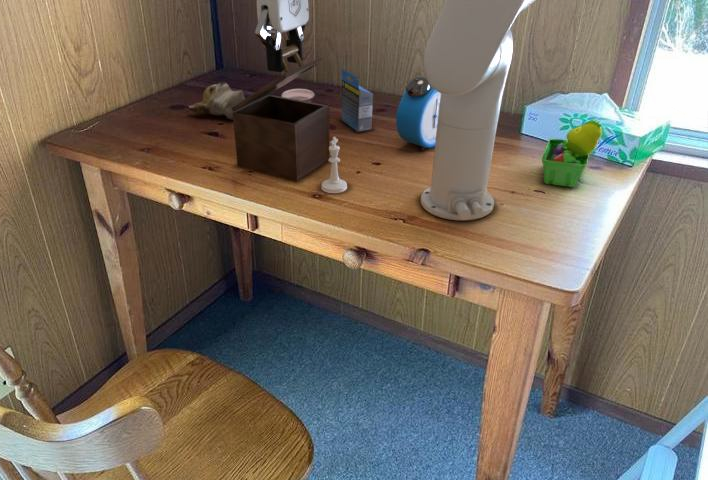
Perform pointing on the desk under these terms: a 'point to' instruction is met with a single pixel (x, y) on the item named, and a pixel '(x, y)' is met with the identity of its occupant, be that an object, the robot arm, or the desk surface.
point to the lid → (283, 79)
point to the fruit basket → (570, 154)
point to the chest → (282, 136)
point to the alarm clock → (419, 113)
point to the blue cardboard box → (356, 103)
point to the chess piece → (334, 172)
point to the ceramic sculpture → (218, 100)
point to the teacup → (299, 94)
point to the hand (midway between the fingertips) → (285, 65)
